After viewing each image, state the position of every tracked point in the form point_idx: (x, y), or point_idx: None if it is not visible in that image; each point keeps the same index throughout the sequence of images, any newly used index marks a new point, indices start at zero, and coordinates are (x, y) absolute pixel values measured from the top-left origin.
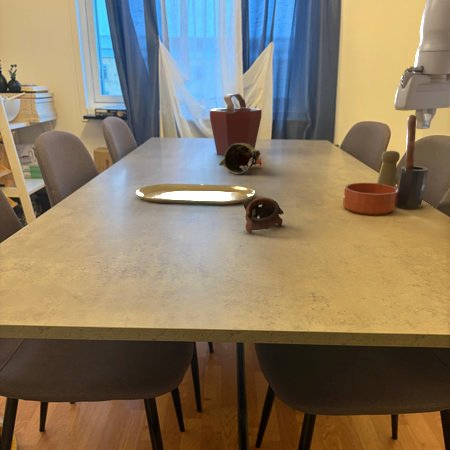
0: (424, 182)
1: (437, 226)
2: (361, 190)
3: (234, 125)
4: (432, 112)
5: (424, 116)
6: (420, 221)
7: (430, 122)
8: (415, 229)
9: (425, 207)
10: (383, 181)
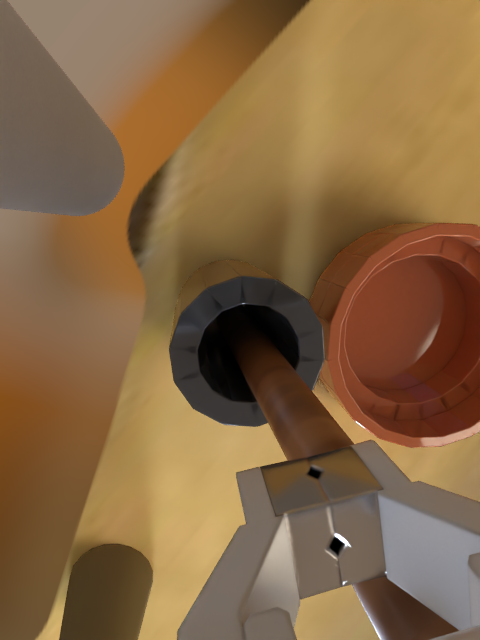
0: (215, 274)
1: (323, 25)
2: (392, 421)
3: None
4: (290, 621)
5: (462, 522)
6: (334, 109)
7: (246, 509)
8: (424, 32)
9: (173, 265)
10: (139, 586)
